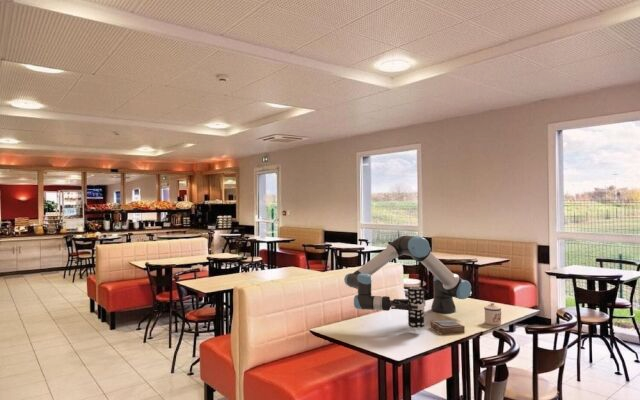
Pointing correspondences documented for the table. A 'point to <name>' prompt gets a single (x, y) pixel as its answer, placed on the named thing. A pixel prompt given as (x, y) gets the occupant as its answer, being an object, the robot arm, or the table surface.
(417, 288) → the white-spotted black cylinder
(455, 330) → the plinth
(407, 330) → the table surface
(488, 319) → the teacup with lid
